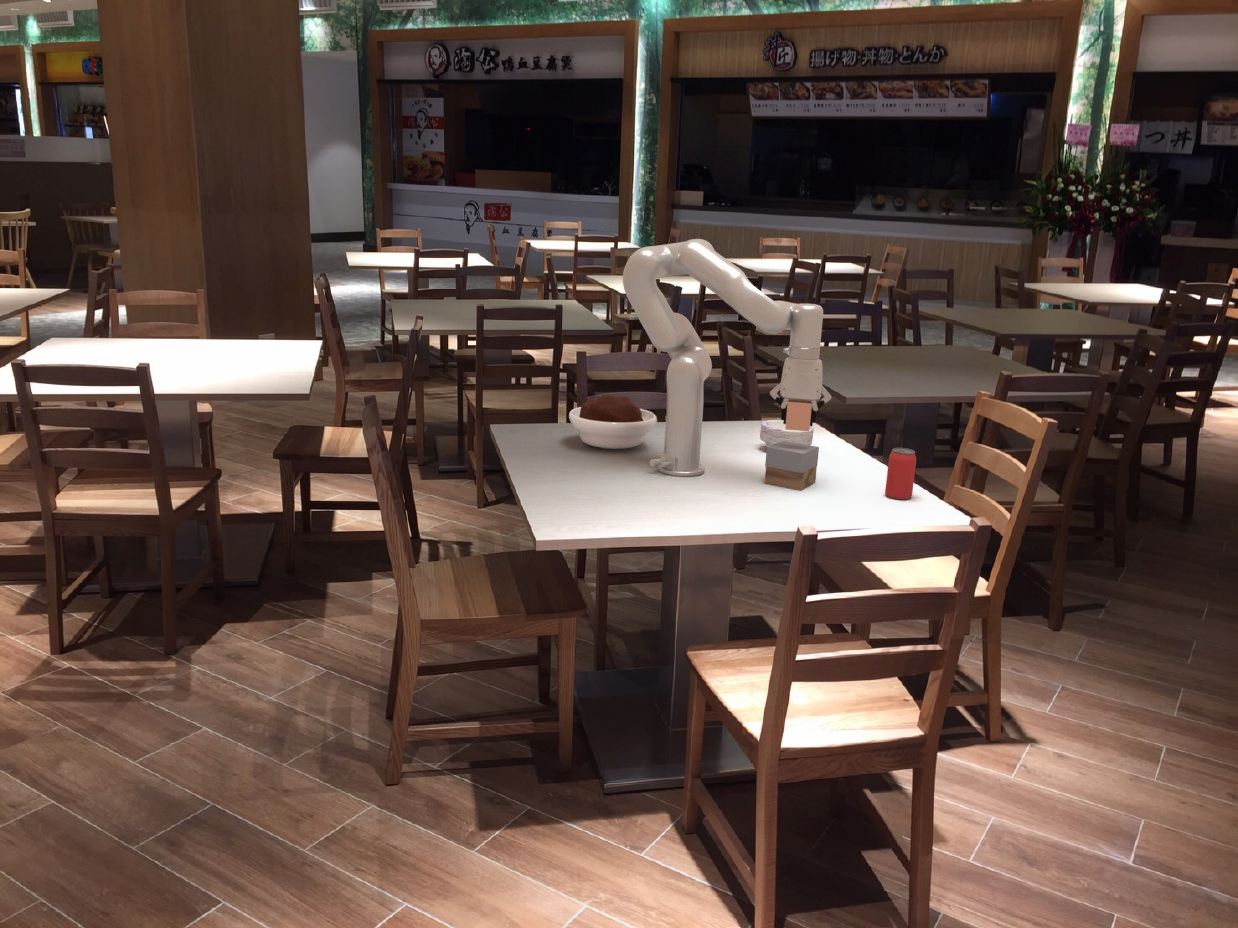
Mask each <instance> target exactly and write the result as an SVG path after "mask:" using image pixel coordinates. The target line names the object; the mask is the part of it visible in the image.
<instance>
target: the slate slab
mask: <svg viewBox="0 0 1238 928" xmlns="http://www.w3.org/2000/svg"><path fill="white" fill-rule="evenodd" d="M819 450H820V446H815V445H812V444H811V445H805V444H800V443H794V442H789V441H781V442H779V443H776V444H773V445H771V446H768V447H767V446H766V453H765V467H766V466H768V467H773V468H778V469H783V470H788V471H793V472H799V473H802V472H805V471H807V470H809V469H811V468H813V467H816V466H817V467H818V463H819V462H818V461H819V452H820V451H819Z"/></svg>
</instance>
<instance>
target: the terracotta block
mask: <svg viewBox="0 0 1238 928" xmlns="http://www.w3.org/2000/svg"><path fill="white" fill-rule="evenodd" d="M811 410H812V403H811V401H810V400H797V399H789V401H788V403H787V415H786V427H785V429H786V430H798V431H809V430H810V419H811Z"/></svg>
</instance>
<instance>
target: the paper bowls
mask: <svg viewBox="0 0 1238 928" xmlns="http://www.w3.org/2000/svg"><path fill="white" fill-rule="evenodd" d="M783 422H784V420H781V419H770V420H769V419H768V420H764V421H762V422H761V423H760V431H759V432H760V433H759V439H760V440H761V441H762V442H764V443H765V446H766V448H767V447H768V446H771V445H773V444H776V443H779V442H781V441H789V442H794V443H800V444H805V445H811V446H812V443H813V437H814V431H815V430H814V427H813V425H812V426H810V430H809V431H798V430H786V429H785V427H786V424H783Z"/></svg>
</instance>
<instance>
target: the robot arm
mask: <svg viewBox="0 0 1238 928" xmlns="http://www.w3.org/2000/svg"><path fill="white" fill-rule="evenodd" d="M684 275H689V277H691V278H693V279H694V280H696V281H697V282H699V283H700V284H701V285H702V286H704V287H705V288H707V289H708V290H709V291H711V292H712V293H714V294H715V295H717V297H719V298H720V299H722V300H723V301H724V302H725V303H726V304H727V305H728V306H730V307H731V308H732V309H733V310H735V312H736V313H738V314H739V315H741V317H743V318H744V319H746V320H747V321H749V322H750V323H751V324H752V325H754V326H756V327H757V328H758V329H760V330H761V331H762V332H765V333H766V334H767V333H768V334H770V335H771V334H772V335H775V334H776V335H777V334H779V333H781V332H783V331H786V330H789V331H790V336H789V338H790V339H789V346H788V347H783V350H782V352H783V354H786V355H787V356H788V357H786V358H785V360H784V363H783V367H782V374H781V380H780V382H779V383H778V384H777V385H776V386H775V387H773V389H772V390H770V391H769V395H770V396H771V397H772V398H773V399H774V401H775V402H776V403H777V404H778V405H779V407H780V408H781V413H780V414H781V417H780V420H784V422H783V424H786V415H787V403H788V401H789V399H797V400H810V401H811V403H812V408H811V419H810V426H812V427H813V424H815V423H816V420H817V411H818V410H819V409H821V408H822V407H823V406H824V405H825V404H826V403H828V402H830V400H831V399H832V395H831V394H830V392H828V390H827V389H826V388H825V387H824V386H823V362H822V360H821V359H820V352H821V340H822V331H823V330H822V329H823V321H824V320H823V318H824V309H823V307H822V306H821V305H819V304H815V303H795V302H789V301H785V300H773V299H772V298H770V297H769V296H767V295H766V294H764V292H762V291H761V290H760V289H758V288H757V287H756V286H754V285H753V283H752V282H751V281H750V280H749V279H748V277H747V275H746V274H745V272H744V271H743V270H742V269H741V268H740V267H738V266H737V265H735V264H733V262H731V261H729V260H728V259H727V258H725V257H724V256H722V255H721V254H720V253H718V252H717V251H716V250H715V249H714V246H713V245H712V244H711V243H710V242H709V241H707V240H705V239H703V238H702V239H701V238H692V239H688V240H686V241H680V242H673V243H667V244H661V245H652V246H651V245H650V246H644V247H641V248H639V249H637V250H636V251H635V252H633V253H632V254H631V256H630V257H629V258H628V260H627V261H626V264H625V265H624V269H623V273H622V286H623V290H624V293H625V295H626V297H627V299H628V301H629V303H630V305H631V307H632V310H634V312H635V314H636V315H637V318H638V320H639V322H640V324H641V325H642V327H643V329H644V330H645V333H646V334H647V336H648V338H649V340H650V341H651V343H652V345H653V347H655V348H656V350H658V351H660V352H664V353H667V354H668V356H669V357H670V362H669V364H668V367H667V371H666V409H665V410H666V411H665V412H666V414H665V415H666V416H665V430H664V447H663V448H664V449H663V450H664V451H663V453H661V454H660V457H658V458H654V459H652V458H651V459H650V460H649V466H650V467H652V468H653V467H657V468H656V469H657V471H658V472H660V473H662V474H666V475H670V476H677V477H694V476H695V477H696V476H700V475H703V474H704V473H705V471H706V467H705V466H704V465H703V464H700V460H701V459H700V458H701V445H702V444H701V441H702V428H703V415H704V414H703V413H704V384H705V383H704V382H705V381H706V380H707V378H708V377H709V376H710V374H711V372H712V369H713V368H712V367H713V365H712V364H713V363H712V359H711V357H710V355H709V353H708V351H707V349H706V347H705V345H704V344H703V341H702V340H701V338H700V336H699V335H698V333H697V332H696V331H697V330H695V328H694V326H693V325H692V323H691V322H690V320H689V319H688V318H687V317H686V316H685V315H683V314H681V313H678V312H674V310H672V308H671V306H670V304H669V303H668V300H667V298H666V297H665V295H664V294H663V292H662V291H661V290H660V288H659V287H658V284H657V280H659V279H664V278H669V277H675V276H684ZM778 392H780V393H779V394H780V396H781V397H780V396H779V395H778ZM822 395H823V396H824V397H823V398H822V399H821V397H822ZM782 398H783V399H782ZM817 400H819V401H818V402H817Z"/></svg>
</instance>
